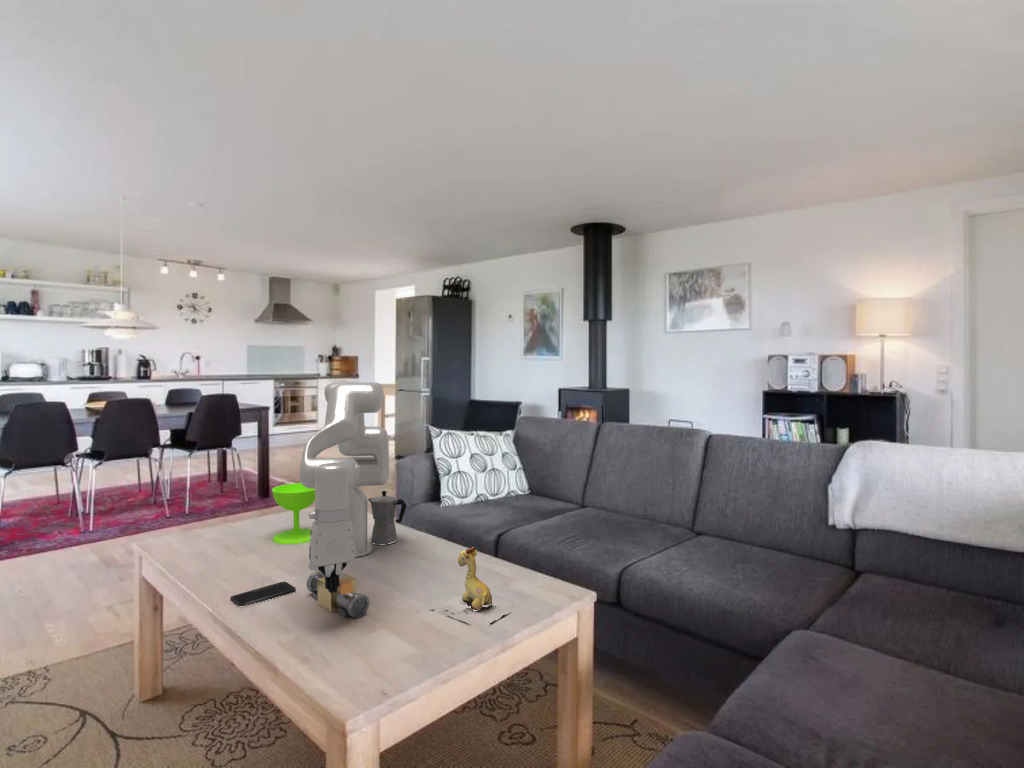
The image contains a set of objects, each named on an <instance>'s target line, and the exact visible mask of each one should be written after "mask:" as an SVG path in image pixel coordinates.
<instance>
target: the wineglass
mask: <svg viewBox="0 0 1024 768" xmlns="http://www.w3.org/2000/svg"><path fill="white" fill-rule="evenodd" d="M271 492H272V497H273V499H274V502H275V503H277V505H278V506H279V507H280V508H282V509H284V510H287V511H292V512H293V528H292V529H289V530H284V531H280V532H279V533H277V534H275V535H274V536H273V537H272V542H273V541H274V542H276V543H275V544H277V543H279V544H278V545H282V544H296V545H299V544H298V543H303V544H306V543H305V542H308V543H310V542H309V541H310V534H311V529H310V528H300V511H301V510H304V509H306V508H308V507H310V506H311V505H312V504H314V503H315V488H306V487H304V486H303V485H302V484H301V482H298V483H297V482H296V483H295V482H294V483H287V484H286V483H285V484H282V485H277V486H274V487H272V490H271ZM274 542H273V543H274Z"/></svg>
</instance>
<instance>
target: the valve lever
mask: <svg viewBox="0 0 1024 768" xmlns="http://www.w3.org/2000/svg"><path fill="white" fill-rule="evenodd" d="M330 571H331V573H332V571H333V567H331V568H330ZM343 573H344V569H343V570H342V571H341V574H340V575H339V587H338V590H339V591H340V593H341V595H344V594H349V593H353V583H352V581H351V580H350V578H345V576H344V575H343Z"/></svg>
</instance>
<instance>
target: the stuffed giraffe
mask: <svg viewBox="0 0 1024 768" xmlns="http://www.w3.org/2000/svg"><path fill="white" fill-rule="evenodd" d="M477 555H478V549H476V547H475V546H472V547H470V548H466V549H462V551H460V553H459V555H458V556H457V564H458V565H459V567H464V566H467V568H468V569H467V573H466V576H465V582H464V587H465V591H464V593H463V594H464V595H463V597H462V600H463V601H462V602H463V603H464V604H466V603H467V605H468V606H471V609H470V610H472V609H474V610H479V609H481V608H482V606H483V605H490V604H492V596H491V595H492V593H491V590H490V588H489V587H488V584H487V585H486V584H485V583H484V582H483V581H481V580H480V579H479V578H478V577H477V576H476V573H477V563H476V559H475V558H476V556H477ZM482 609H483V608H482ZM482 609H481V610H482Z"/></svg>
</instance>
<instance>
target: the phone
mask: <svg viewBox="0 0 1024 768" xmlns="http://www.w3.org/2000/svg"><path fill="white" fill-rule="evenodd" d="M295 591H296V592H297V590H296V587H295V586H294V585H292V584H290V583H289V582H287V581H280V582H277V583H273V584H270V585H267V586H263V587H259V588H255V589H251V590H248V591H245V592H241V593H238V594H235V595H231V596H230V600H231V601H233V602H234V603H236V604H237V605H238V606H246V605H250V604H254V603H257V604H259V603H258V602H261V603H263V602H262V601H264V602H266V601H265V600H267V601H269V600H268V599H271V600H273V599H272V598H274V599H276V598H275V597H277V598H279V597H278V596H281V597H283V596H282V595H284V596H287V595H290V594H289V593H291V594H293V593H292V592H294V593H296V592H295ZM286 594H287V595H286ZM230 600H229V601H230ZM233 602H232V603H233ZM237 605H236V606H237ZM254 605H255V604H254ZM238 606H237V607H238Z"/></svg>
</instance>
